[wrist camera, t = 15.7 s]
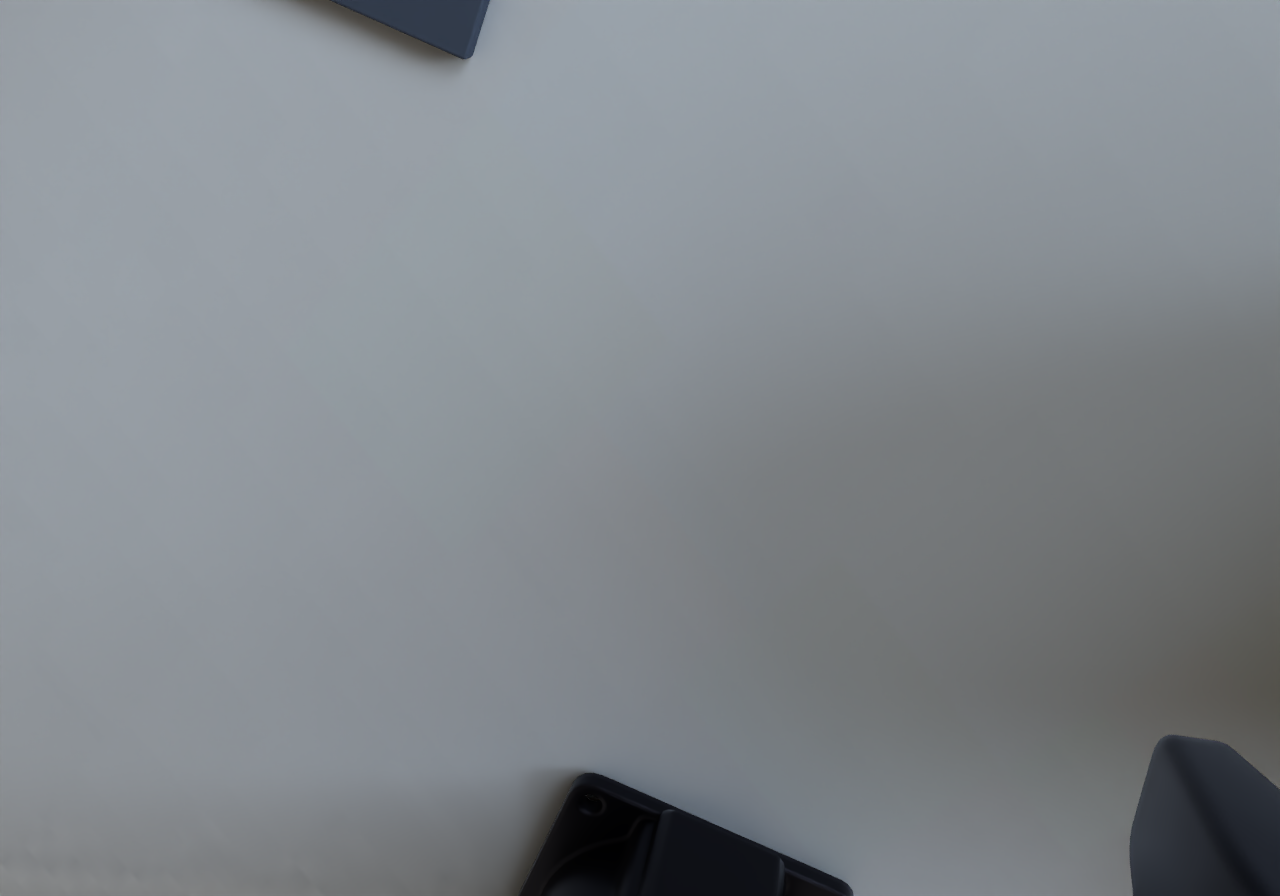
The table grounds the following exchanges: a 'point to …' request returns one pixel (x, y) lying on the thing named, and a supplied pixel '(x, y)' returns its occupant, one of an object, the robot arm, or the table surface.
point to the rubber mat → (429, 20)
